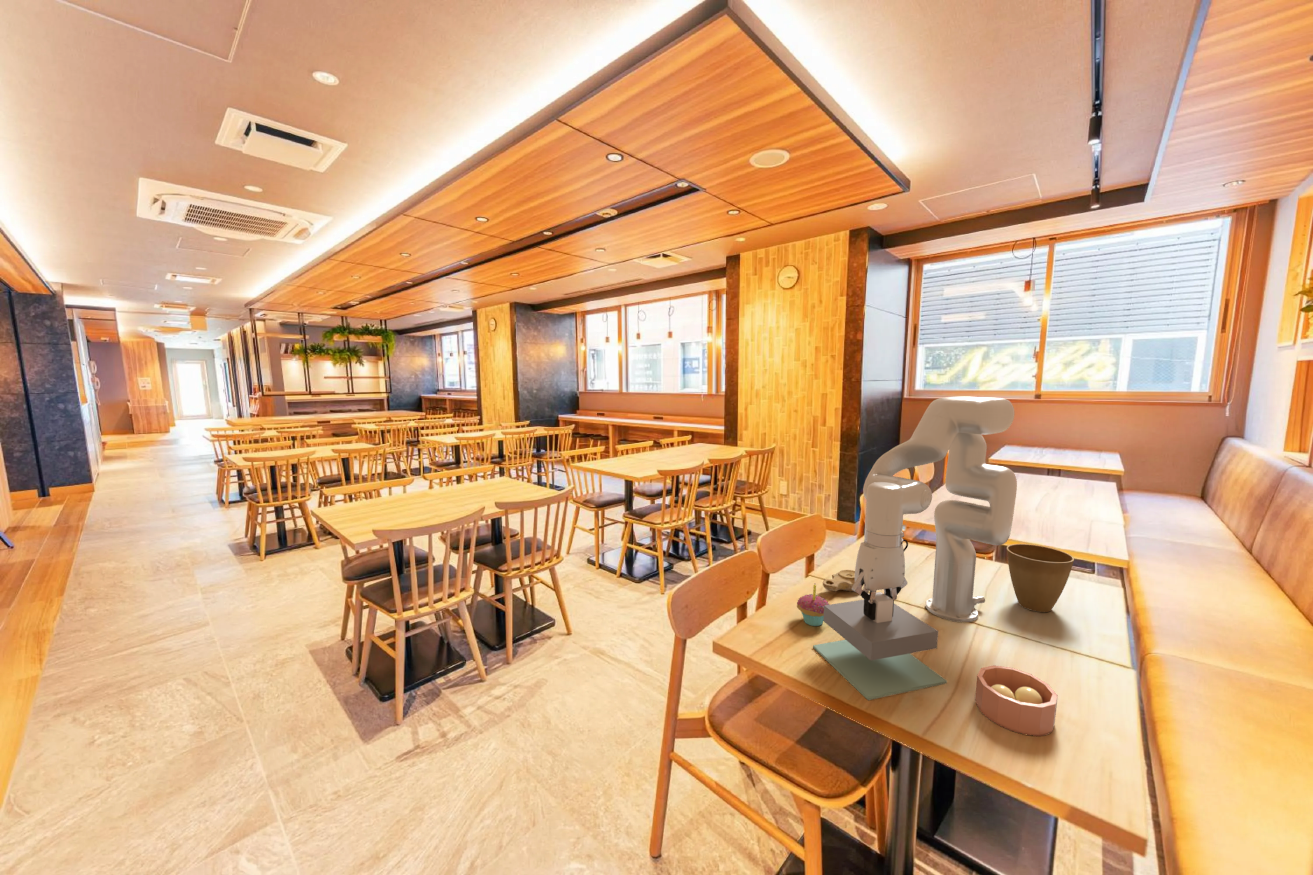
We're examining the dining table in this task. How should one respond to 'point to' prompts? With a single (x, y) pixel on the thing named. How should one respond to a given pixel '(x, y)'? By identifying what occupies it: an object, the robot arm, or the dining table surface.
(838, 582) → the oil lamp
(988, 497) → the robot arm
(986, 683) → the bowl
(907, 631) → the cover
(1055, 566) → the plant pot
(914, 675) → the mat
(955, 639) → the dining table surface
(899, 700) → the dining table surface
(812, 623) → the cupcake
